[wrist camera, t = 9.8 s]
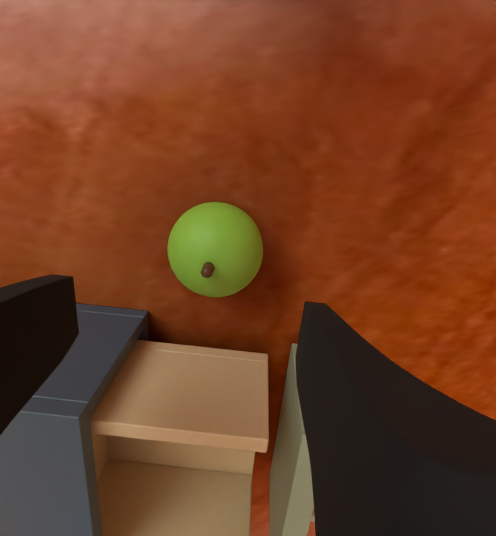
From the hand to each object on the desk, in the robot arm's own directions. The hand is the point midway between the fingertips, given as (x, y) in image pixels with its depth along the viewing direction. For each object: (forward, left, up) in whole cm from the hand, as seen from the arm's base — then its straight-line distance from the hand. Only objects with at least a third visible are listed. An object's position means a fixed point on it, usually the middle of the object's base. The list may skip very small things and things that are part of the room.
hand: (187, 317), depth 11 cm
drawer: (-10, +6, -8) cm, 14 cm away
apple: (0, 0, -9) cm, 9 cm away
